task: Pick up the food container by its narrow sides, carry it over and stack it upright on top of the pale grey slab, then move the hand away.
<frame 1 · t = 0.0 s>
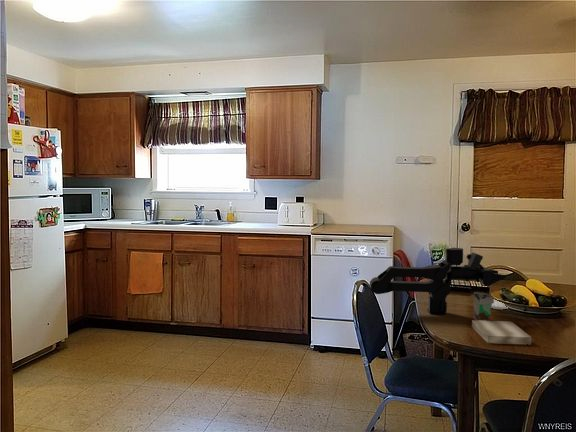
hand: (501, 274, 192), 17 cm above the table, tool horizontal, fingers open, 9 cm apart
pale grey slab: (499, 336, 167), on the table
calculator: (499, 307, 208), on the table
food container: (484, 321, 184), on the table
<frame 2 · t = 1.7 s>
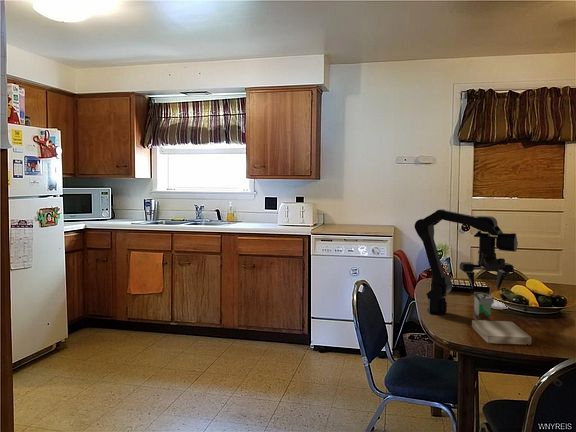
hand: (485, 289, 183), 12 cm above the table, tool pointing down, fingers open, 9 cm apart
nothing on the table moved.
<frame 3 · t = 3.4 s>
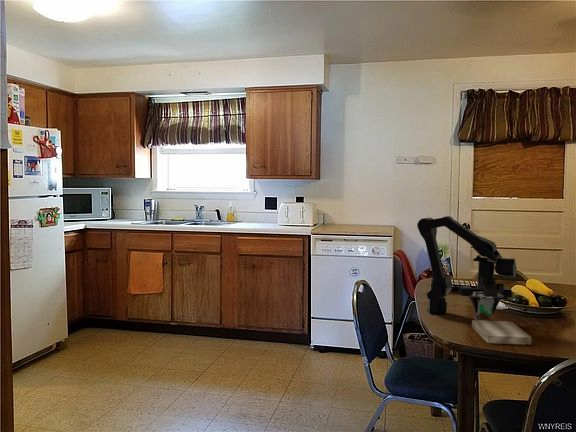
hand: (484, 313, 184), 3 cm above the table, tool pointing down, fingers closed on food container, 6 cm apart
food container: (484, 321, 184), on the table, touching gripper
everything else where it was.
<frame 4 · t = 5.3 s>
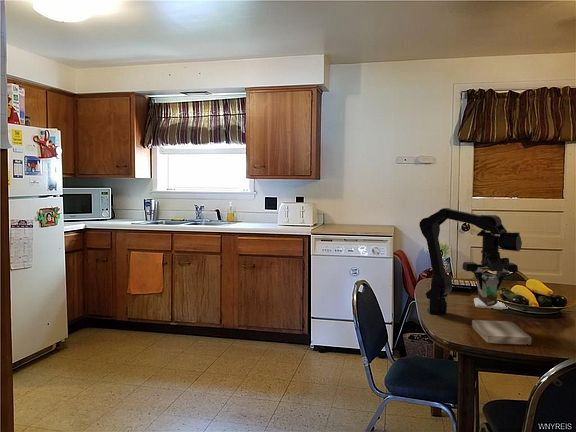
hand: (489, 289, 180), 13 cm above the table, tool pointing down, fingers closed on food container, 6 cm apart
food container: (491, 302, 180), point 8 cm above the table, touching gripper
everything else where it was.
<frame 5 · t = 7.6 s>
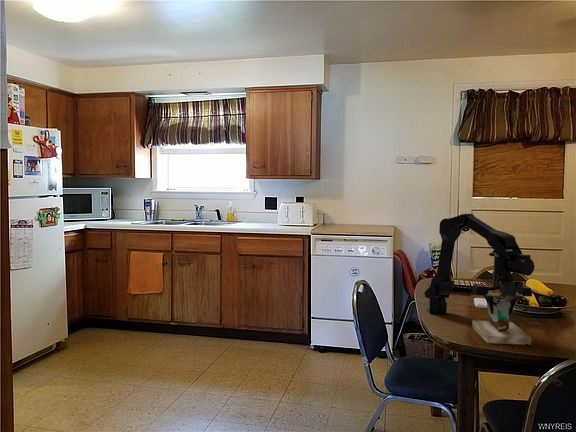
hand: (500, 314, 167), 7 cm above the table, tool pointing down, fingers closed on food container, 6 cm apart
pale grey slab: (499, 336, 167), on the table, touching food container
food container: (502, 327, 168), point 3 cm above the table, touching gripper, pale grey slab
everything else where it was.
when the fingers open (7 cm above the table, at t = 8.2 s): food container stays where it is, resting on pale grey slab.
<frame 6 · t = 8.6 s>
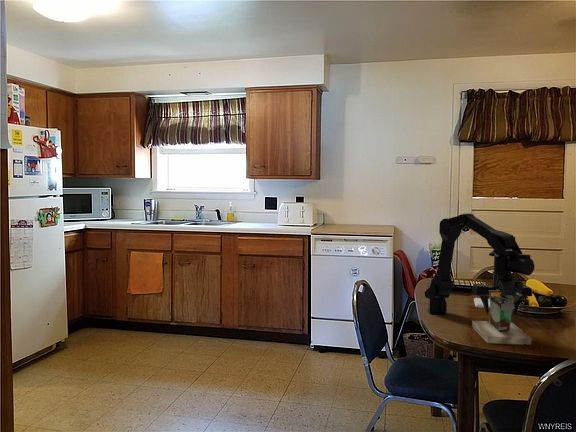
hand: (500, 314, 167), 7 cm above the table, tool pointing down, fingers open, 9 cm apart
food container: (503, 328, 168), point 2 cm above the table, touching pale grey slab
everything else where it was.
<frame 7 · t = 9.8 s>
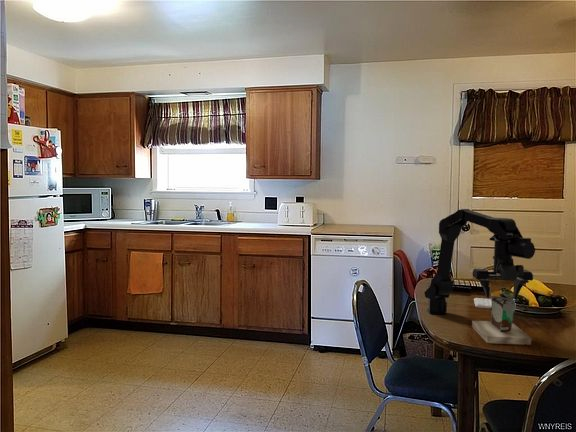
hand: (501, 298, 166), 13 cm above the table, tool pointing down, fingers open, 9 cm apart
nothing on the table moved.
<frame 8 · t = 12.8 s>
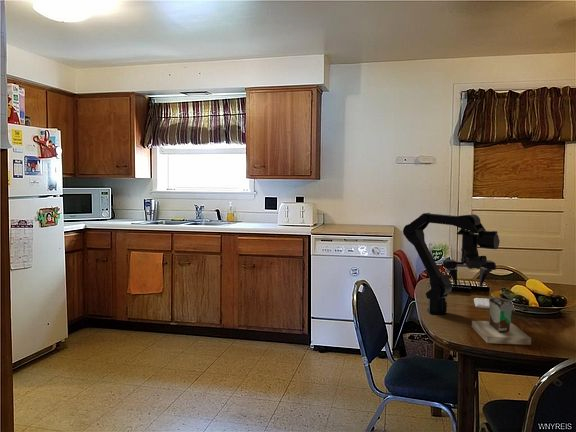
hand: (468, 286, 186), 13 cm above the table, tool pointing down, fingers open, 9 cm apart
food container: (502, 329, 167), point 2 cm above the table, touching pale grey slab
everything else where it was.
at the end: food container inside the target area on the pale grey slab (1.1 cm from its centre), point 2.8 cm above the pale grey slab's base; food container tilted 0°; the gripper is holding nothing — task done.
